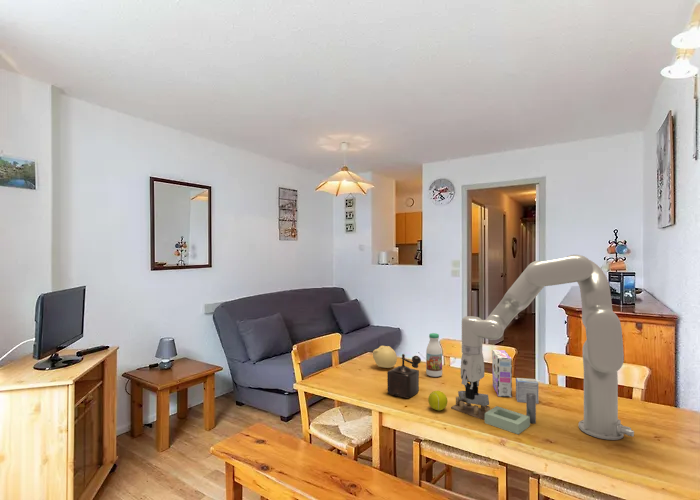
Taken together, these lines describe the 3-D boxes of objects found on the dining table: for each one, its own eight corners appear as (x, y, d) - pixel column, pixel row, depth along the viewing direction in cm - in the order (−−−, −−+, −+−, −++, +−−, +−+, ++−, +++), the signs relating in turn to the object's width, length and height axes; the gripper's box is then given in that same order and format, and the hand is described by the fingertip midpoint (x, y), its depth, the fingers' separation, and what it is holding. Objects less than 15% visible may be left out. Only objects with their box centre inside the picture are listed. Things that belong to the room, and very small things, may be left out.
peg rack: (494, 414, 142) (494, 404, 142) (484, 420, 137) (484, 410, 137) (460, 403, 152) (460, 394, 152) (451, 408, 147) (451, 399, 147)
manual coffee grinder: (385, 393, 163) (385, 351, 163) (398, 386, 172) (398, 346, 172) (418, 402, 153) (418, 357, 153) (430, 394, 162) (430, 352, 162)
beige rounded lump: (385, 361, 209) (385, 342, 209) (401, 367, 199) (401, 346, 199) (369, 365, 202) (369, 345, 202) (385, 371, 192) (385, 350, 192)
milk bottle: (423, 372, 190) (423, 332, 190) (437, 371, 192) (436, 331, 192) (431, 377, 182) (431, 336, 182) (445, 376, 185) (445, 335, 185)
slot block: (529, 426, 132) (529, 416, 132) (518, 435, 126) (518, 424, 126) (496, 415, 141) (496, 406, 141) (484, 423, 135) (484, 413, 135)
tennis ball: (438, 415, 142) (438, 396, 142) (424, 408, 147) (424, 390, 147) (451, 410, 146) (450, 392, 146) (436, 404, 151) (436, 386, 151)
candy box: (512, 397, 157) (512, 358, 157) (497, 396, 159) (497, 357, 158) (505, 386, 171) (505, 349, 171) (492, 385, 172) (491, 349, 172)
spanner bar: (490, 403, 141) (488, 394, 141) (485, 406, 139) (484, 396, 139) (462, 399, 149) (461, 390, 150) (457, 401, 147) (456, 392, 147)
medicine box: (536, 400, 155) (536, 379, 155) (538, 404, 151) (538, 382, 151) (515, 398, 157) (515, 377, 157) (517, 402, 153) (517, 381, 153)
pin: (537, 422, 135) (537, 394, 135) (533, 425, 133) (533, 396, 133) (528, 419, 137) (528, 392, 137) (525, 422, 135) (524, 394, 135)
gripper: (469, 355, 136) (469, 406, 136) (491, 347, 147) (491, 395, 147) (451, 351, 142) (451, 400, 142) (473, 344, 153) (473, 389, 153)
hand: (471, 397), depth 144 cm, fingers closed on spanner bar, 2 cm apart
